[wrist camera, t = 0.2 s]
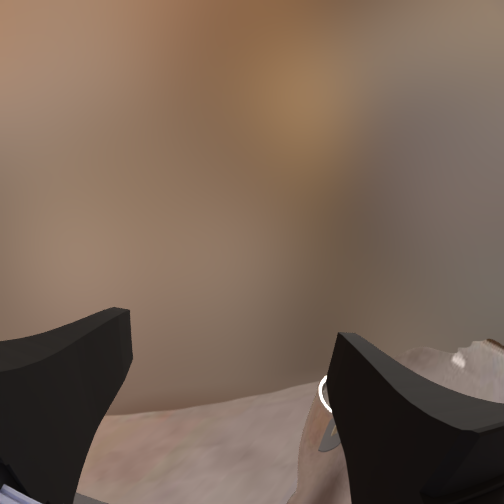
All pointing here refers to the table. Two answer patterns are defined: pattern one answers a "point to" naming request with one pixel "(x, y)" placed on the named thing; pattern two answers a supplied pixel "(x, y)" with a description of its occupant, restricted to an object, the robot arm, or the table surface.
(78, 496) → the rubber mat
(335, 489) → the beer glass
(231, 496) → the table surface
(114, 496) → the table surface
